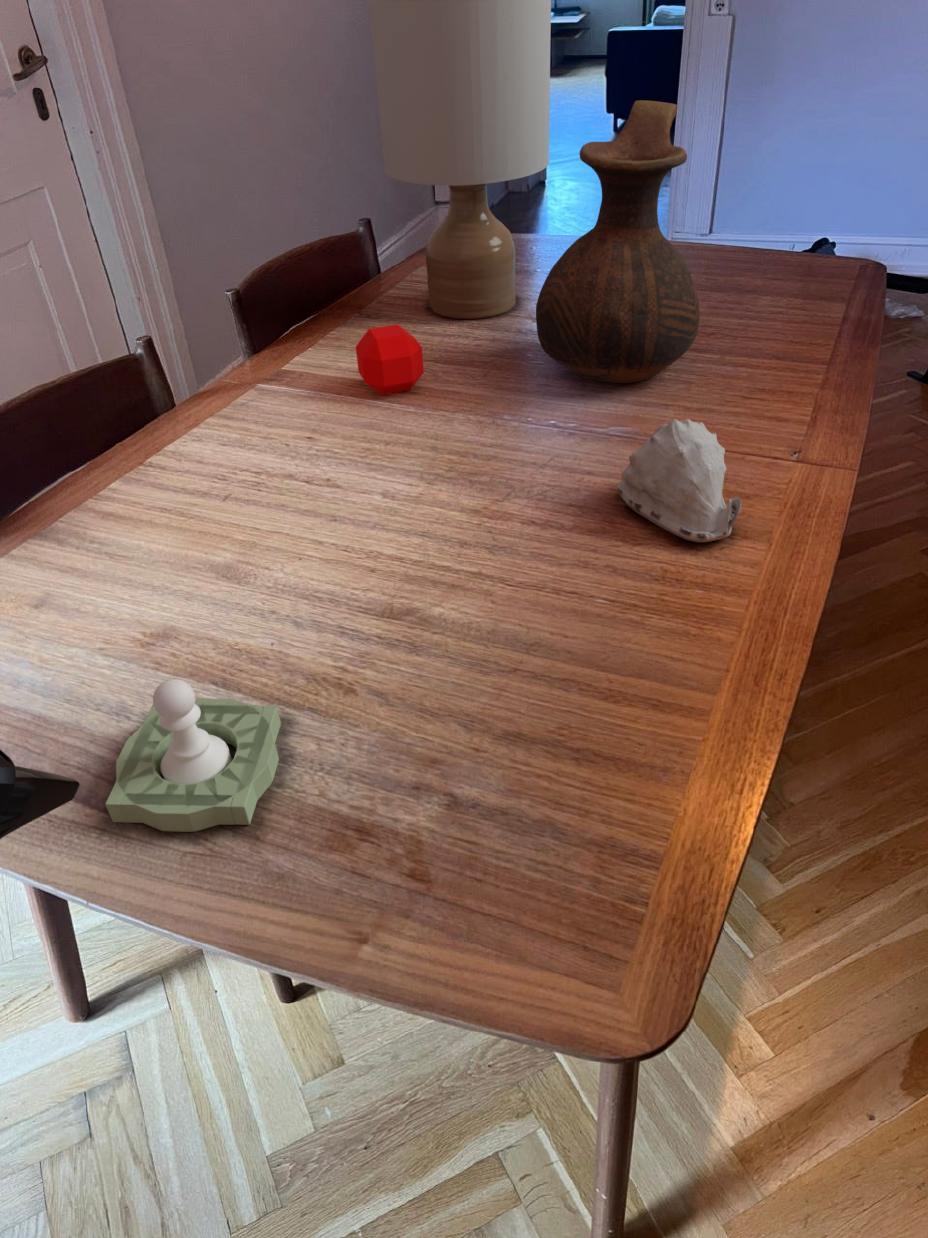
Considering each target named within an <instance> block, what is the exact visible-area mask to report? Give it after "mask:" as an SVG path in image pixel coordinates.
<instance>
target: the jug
mask: <svg viewBox="0 0 928 1238" xmlns="http://www.w3.org/2000/svg"><path fill="white" fill-rule="evenodd" d="M677 111H678V105H677V104H676V103H670V102H664V101H655V100H642V99H641V100H635V101H634V102H633V105H632V106H631V110H630V113H629V116H628V117H627V120H626V122H625V124H624V126H623V127H622V129H621V130H620V132H619V133H618V135H616V137H615V138H614V139H613V140H608V141H607V140H606V141H589V142H587V143H585V144H583V145H582V146H581V148H580V150H579V159H580V161H582V162H583V163H584V164H586V165H587V166H588V167H589V168H591V169H592V170H593V171H594V172H595V174H596V175H597V177H598V180H599V182H600V188H601V202H600V206H599V211H598V215H597V220H596V222H595V225H594V227H592V228H591V229H590V230H589V231H587V232H586V233H584V234H583V235H581V236H580V237H579V238H578V239H576V240H574V242H573V243H572V244H571V245H570V246H569V247H568V248H567V249H566V250H565V252H563V253H562V255H561V256H560V257H559V259H558V260H557V261H556V262H555V264H554V265H553V266H552V267H551V268H550V270H549V272H548V274H547V276H546V278H545V280H544V282H543V285H542V286H541V289H540V291H539V294H538V296H537V297H538V298H537V300H536V305H535V324H536V332H537V338H538V341H539V344H540V347H541V349H542V350H543V352H544V353H545V354H546V355H547V356H548V357H550V358H551V359H552V360H554V361H555V362H557V363H558V364H560V365H562V366H564V367H565V368H567V369H569V370H570V371H571V372H573V373H575V374H576V375H578V376H579V377H581V378H584V379H589V380H594V381H599V382H605V383H615V384H632V383H639V382H643V381H646V380H649V379H651V378H653V377H655V376H656V375H658V374H659V373H661V372H662V371H664V370H665V369H666V368H668V367H669V366H670V365H672V364H674V363H675V362H676V361H678V360H679V359H681V357H683V356H684V355H685V353H687V351H688V350H689V349H690V348H691V346H692V344H694V341H695V339H696V338H697V335H698V332H699V329H700V317H701V315H700V314H701V312H700V301H699V296H698V292H697V288H696V285H695V282H694V279H693V277H692V275H691V272H690V269H689V266H688V264H687V262H686V261H685V259H684V257H683V256H682V254H681V253H680V251H679V250H678V249H677V248H676V247H675V246H674V244H672V243H671V242H670V241H669V240H668V239H667V238H666V237H665V235H664V234H663V233H662V230H661V228H660V224H659V216H658V214H659V213H658V206H659V195H660V190H661V185H662V183H663V181H664V178H665V177H666V175H667V174H668V173H669V171H670V170H671V169H674V168H677V167H679V166H682V165H683V164H685V163H686V162H687V160H688V153H687V150H686V149H684V148H683V147H681V146H677V145H673V144H672V143H671V135H670V134H671V128H672V124H673V121H674V119H675V117H676V116H677Z"/></svg>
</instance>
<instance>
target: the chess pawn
mask: <svg viewBox="0 0 928 1238" xmlns="http://www.w3.org/2000/svg"><path fill="white" fill-rule="evenodd" d="M195 701H196V694H195V691H194V689H193V687H192V686H191V684H189V683H188V682H187V681H184V680H182V679H179V678H178V679H177V678H171V679H167V680H165V681H163V682H161V683H159V685H157V687H156V688H155V690H154V692H153V695H152V705H154V708H155V709H156V711H157V713H158V714H160V719H159V721H160V725H161V727H163V728H164V729H166V730H168V731H173V736H174V737H173V738H172V739H171V741H170V743H169V749H168V750H167V751H166V753H165V754H164V756H163V758H162V761H161V775H162V777H163V779H164V780H167V781H169V782H172V783H174V784H193V783H197V782H201V781H204V780H208V779H210V778H212V777H213V776H215V775H217V774H218V773H220V772H222V771H223V770H224V769H225V768H226V767H227V766H228V765H229V764H230V763H231V761H232V760H233V758H232V754H231V753H230V749H229V746H228V743H225V742H224V741H223V740H222V739H220V738H219V737H216V736H214V735H209V734H208V733H207V732H206V731H205V730H203V729H200V728H197V726H196V724H195V723H196V722H197V721H198V719H199V718H200V714H201V711H200V708H199V707H198V706H197V705H196V704H195Z"/></svg>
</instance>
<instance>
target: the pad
mask: <svg viewBox="0 0 928 1238" xmlns="http://www.w3.org/2000/svg"><path fill="white" fill-rule="evenodd" d="M195 704H196V705H197V706H198V707H199V708H200V711H201V714H200V718H199V719H198V721H197V722H196V723H195V724H196V726H197V728H200V729H203V730H205V731H206V732H207V733H208V734H209V735H214V736H216V737H219V738H220V739H222V740H223V741H224V742H225V743H226V744H227V745H231V746H233V747H234V749H236V750H235V753H234V757H233V758H232V761H231V763H230V764H229V765H228V766H227V767H226V768H225V769H224V770H223V771H222V772H220V773H218V774H217V775H215V776H213V777H212V778H210V779H208V780H204V781H201V782H197V783H193V784H174V783H172V782H169V781H167V780H164V778H162V776H161V775H162V773H161V761H162V758H163V756H164V754H165V753H166V751H167V750H168V749H169V743H170V741H171V739H172V738H173V737H174V736H173V731H168V730H166V729H164V728H163V727H161V725H160V721H159V719H160V714H158V713H157V711H156V709H155V708H154V705H153V704H152V705H151V706H150V709H149V711H148V714H147V716H146V718H145V720H144V722H143V723H142V725H141V726H139V727H138V728H137V729H136V731H135V732H133V733H132V734H131V735H130V736H129V737H128V738H127V739H126V741H125V743H124V745H123V747H122V749H121V752H120V753H119V755H118V757H117V759H116V761H115V778H116V779H115V783H114V785H113V787H112V789H111V791H110V793H109V795H108V797H107V800H106V801H105V808H106V809H107V812H108V814H109V816H110V819H111V820H112V822H113V823H129V824H130V823H131V824H132V823H133V824H135V823H136V824H137V823H138V824H145V825H147V826H150V827H152V828H154V829H157V830H159V831H161V832H184V833H195V832H199V831H202V830H206V829H209V828H213V827H215V826H219V825H225V826H227V825H230V826H231V825H232V826H235V825H237V826H239V825H240V826H243V825H244V826H249V825H251V823H252V819H253V816H254V813H255V810H256V807H257V803H258V800H259V799H261V798H262V796H263V794H265V792H266V791H267V790H268V789H269V788H270V786H271V785H272V783H273V782H274V778H275V775H276V771H277V770H278V769H277V768H278V765H279V761H280V757H279V752H278V748H277V745H276V742H277V739H278V735H279V732H280V729H281V725H282V722H281V717H280V713H279V709H278V706H277V705H260V704H259V705H257V704H256V705H255V704H254V705H252V704H251V705H249V704H247V703H244V702H240V701H238V700H235V699H232V698H231V699H230V698H200V699H195Z"/></svg>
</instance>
